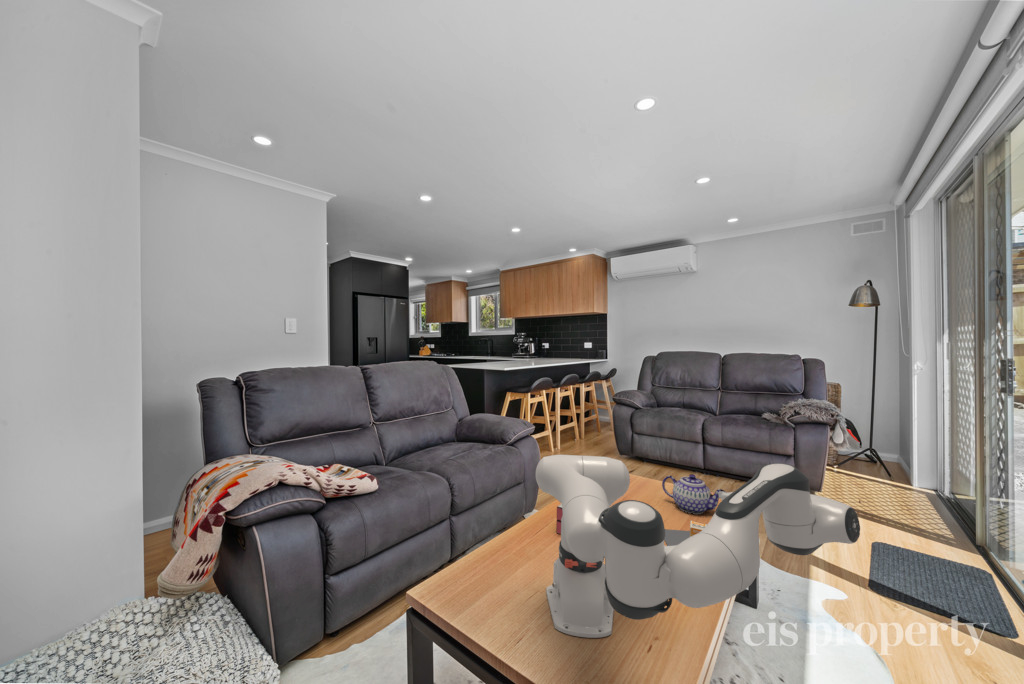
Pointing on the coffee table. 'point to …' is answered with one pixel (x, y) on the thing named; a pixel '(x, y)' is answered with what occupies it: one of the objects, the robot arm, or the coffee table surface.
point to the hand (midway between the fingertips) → (733, 493)
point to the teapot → (692, 494)
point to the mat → (675, 536)
